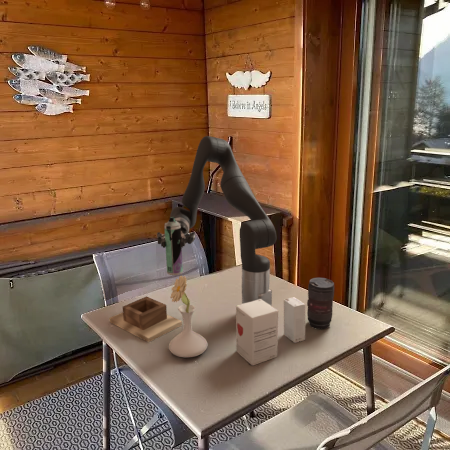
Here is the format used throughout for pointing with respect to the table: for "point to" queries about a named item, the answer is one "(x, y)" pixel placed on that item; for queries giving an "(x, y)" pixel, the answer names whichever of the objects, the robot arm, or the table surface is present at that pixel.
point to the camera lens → (320, 302)
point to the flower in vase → (185, 325)
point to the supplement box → (256, 331)
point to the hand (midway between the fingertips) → (172, 244)
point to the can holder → (146, 319)
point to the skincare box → (294, 319)
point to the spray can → (173, 247)
